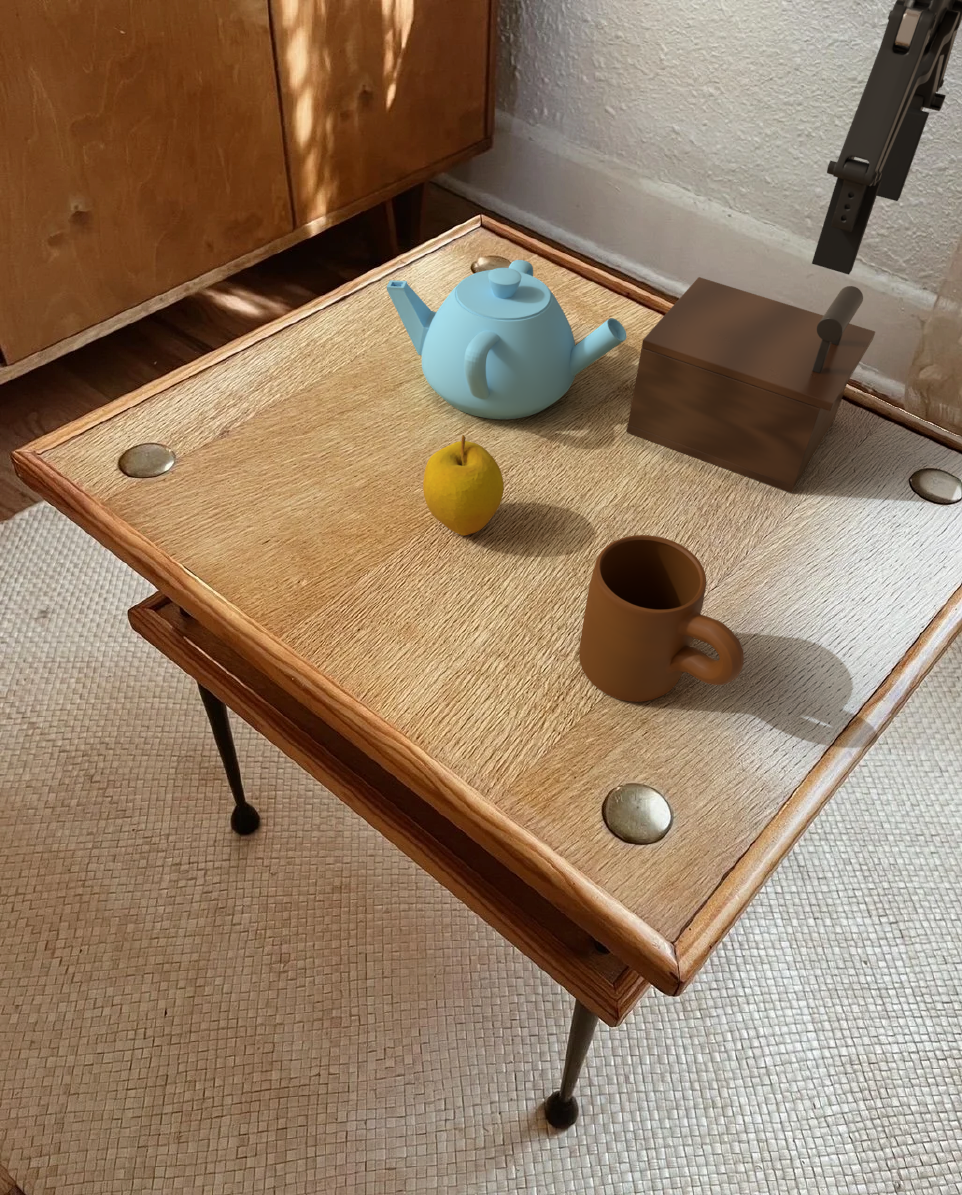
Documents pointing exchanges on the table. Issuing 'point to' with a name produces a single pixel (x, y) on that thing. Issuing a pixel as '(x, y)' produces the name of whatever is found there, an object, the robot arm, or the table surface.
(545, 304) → the teapot
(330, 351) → the table surface
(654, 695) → the mug
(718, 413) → the chest
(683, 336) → the lid
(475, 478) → the apple
